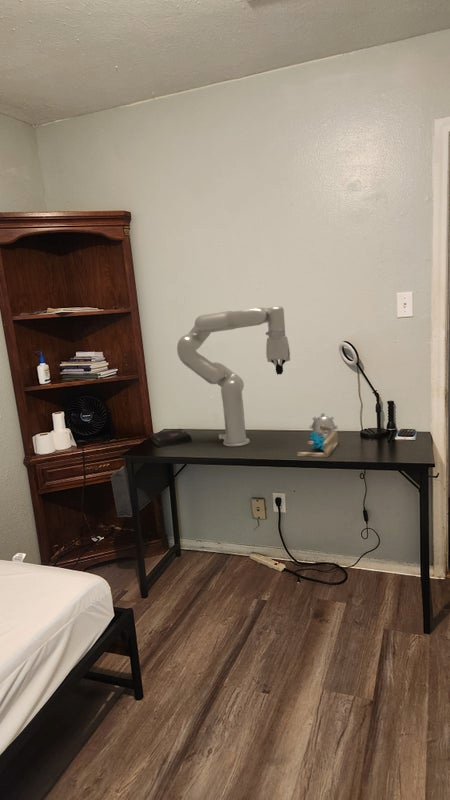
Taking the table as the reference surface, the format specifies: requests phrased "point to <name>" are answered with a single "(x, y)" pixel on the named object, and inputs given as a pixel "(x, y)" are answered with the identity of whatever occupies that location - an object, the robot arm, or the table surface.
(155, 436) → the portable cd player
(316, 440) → the blue spiky oval
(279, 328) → the robot arm
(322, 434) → the gear
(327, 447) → the gear bay
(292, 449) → the table surface
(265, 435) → the table surface
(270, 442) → the table surface
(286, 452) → the table surface
